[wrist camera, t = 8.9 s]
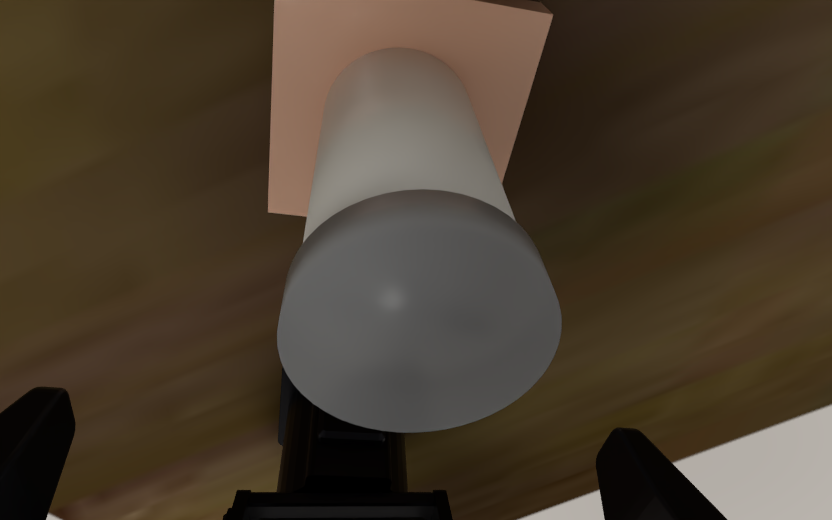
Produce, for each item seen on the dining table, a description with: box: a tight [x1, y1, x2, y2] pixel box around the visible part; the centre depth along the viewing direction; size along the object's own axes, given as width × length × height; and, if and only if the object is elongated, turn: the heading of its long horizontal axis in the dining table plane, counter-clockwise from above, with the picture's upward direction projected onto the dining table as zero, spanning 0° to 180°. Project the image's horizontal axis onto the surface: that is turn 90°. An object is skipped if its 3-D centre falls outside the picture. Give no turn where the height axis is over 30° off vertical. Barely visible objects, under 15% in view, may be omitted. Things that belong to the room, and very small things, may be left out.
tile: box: [268, 0, 553, 217], centre depth 19 cm, size 8×8×2 cm
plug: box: [277, 47, 562, 433], centre depth 14 cm, size 5×5×10 cm
